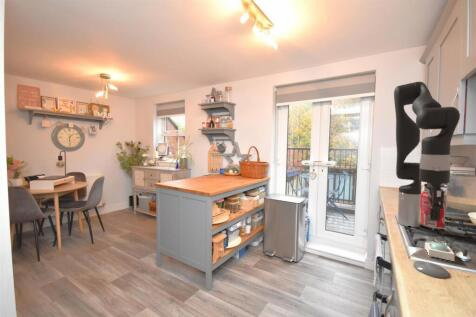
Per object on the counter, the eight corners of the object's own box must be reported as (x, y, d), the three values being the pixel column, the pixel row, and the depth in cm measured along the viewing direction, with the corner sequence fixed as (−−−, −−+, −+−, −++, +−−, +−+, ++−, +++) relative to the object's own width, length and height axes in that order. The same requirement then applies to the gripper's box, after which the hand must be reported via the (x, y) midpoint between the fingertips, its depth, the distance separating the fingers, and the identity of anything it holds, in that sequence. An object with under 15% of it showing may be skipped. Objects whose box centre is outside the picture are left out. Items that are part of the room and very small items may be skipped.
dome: (429, 251, 85) (430, 241, 85) (444, 254, 83) (445, 244, 83) (432, 256, 82) (432, 246, 81) (448, 259, 79) (448, 248, 79)
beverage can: (437, 223, 74) (438, 189, 74) (449, 230, 68) (451, 193, 68) (415, 221, 76) (417, 188, 75) (425, 228, 70) (427, 192, 69)
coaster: (411, 260, 79) (411, 258, 79) (444, 267, 75) (444, 265, 74) (415, 272, 72) (415, 270, 72) (452, 281, 67) (452, 279, 67)
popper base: (424, 249, 87) (425, 242, 87) (448, 253, 83) (448, 246, 83) (428, 257, 81) (429, 249, 81) (454, 262, 77) (454, 254, 77)
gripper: (415, 165, 79) (414, 209, 80) (424, 169, 67) (422, 221, 68) (443, 166, 75) (441, 212, 76) (457, 171, 63) (454, 226, 64)
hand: (432, 216), depth 72 cm, fingers closed on beverage can, 6 cm apart
